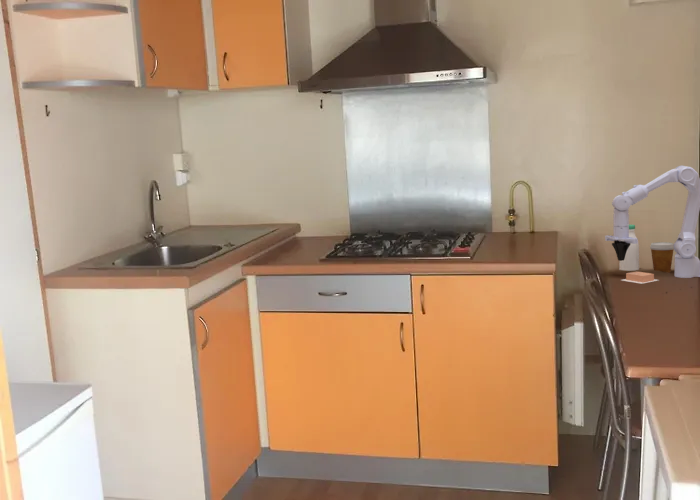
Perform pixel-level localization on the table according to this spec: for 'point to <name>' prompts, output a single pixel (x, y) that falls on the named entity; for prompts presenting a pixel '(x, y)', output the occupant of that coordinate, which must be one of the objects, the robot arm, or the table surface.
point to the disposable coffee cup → (662, 256)
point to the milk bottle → (631, 254)
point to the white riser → (638, 282)
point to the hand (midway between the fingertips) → (621, 260)
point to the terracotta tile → (639, 276)
